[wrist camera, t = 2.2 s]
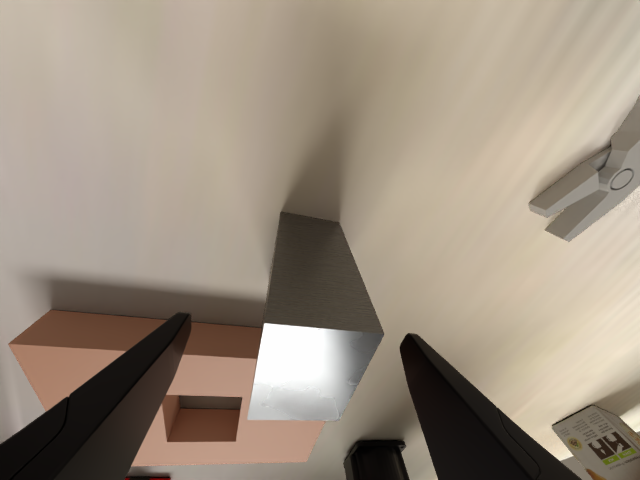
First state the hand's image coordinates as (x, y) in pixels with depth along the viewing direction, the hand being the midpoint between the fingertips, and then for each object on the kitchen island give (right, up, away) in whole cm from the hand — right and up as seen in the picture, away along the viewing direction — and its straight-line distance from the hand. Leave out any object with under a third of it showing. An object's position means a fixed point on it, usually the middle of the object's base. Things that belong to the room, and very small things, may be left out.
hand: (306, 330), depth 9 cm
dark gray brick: (-1, +3, +5) cm, 6 cm away
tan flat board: (-9, -9, +11) cm, 17 cm away
